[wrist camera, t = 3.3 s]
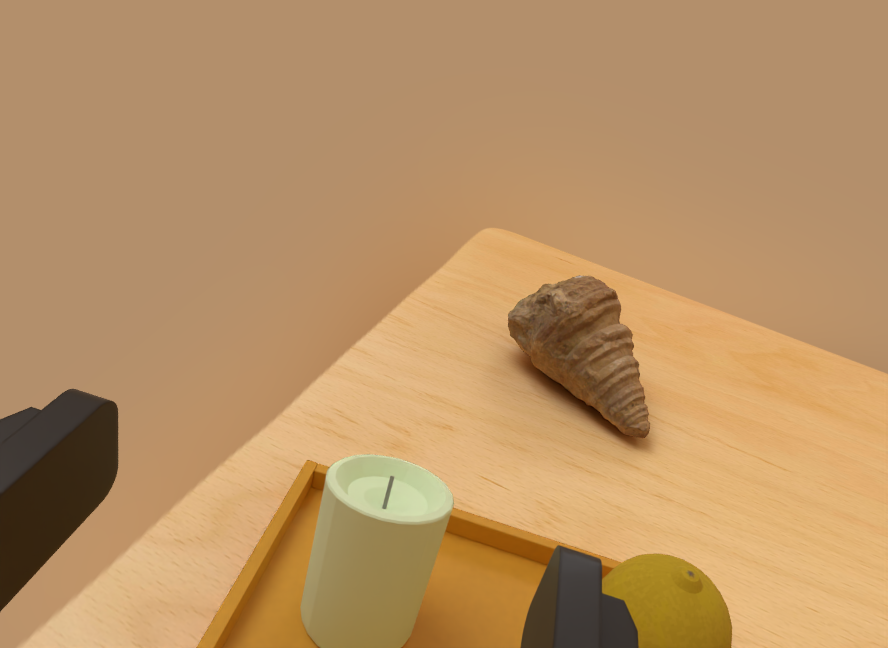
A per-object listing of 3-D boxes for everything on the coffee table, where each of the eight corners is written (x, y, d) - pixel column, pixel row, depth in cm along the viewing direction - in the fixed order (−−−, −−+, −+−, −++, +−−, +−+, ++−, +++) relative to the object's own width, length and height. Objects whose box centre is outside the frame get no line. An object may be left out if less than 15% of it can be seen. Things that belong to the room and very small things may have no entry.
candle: (317, 552, 33) (346, 414, 29) (422, 579, 33) (465, 445, 29) (284, 647, 28) (311, 501, 24) (404, 678, 28) (452, 537, 24)
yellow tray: (165, 724, 25) (167, 695, 25) (302, 484, 37) (307, 459, 36) (742, 930, 24) (765, 907, 23) (698, 615, 36) (713, 591, 35)
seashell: (601, 474, 50) (683, 413, 52) (631, 443, 43) (725, 373, 45) (486, 331, 55) (565, 279, 57) (495, 280, 48) (586, 223, 50)
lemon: (527, 664, 30) (588, 536, 26) (618, 623, 33) (685, 502, 29) (612, 792, 26) (698, 664, 22) (706, 732, 29) (797, 610, 25)
